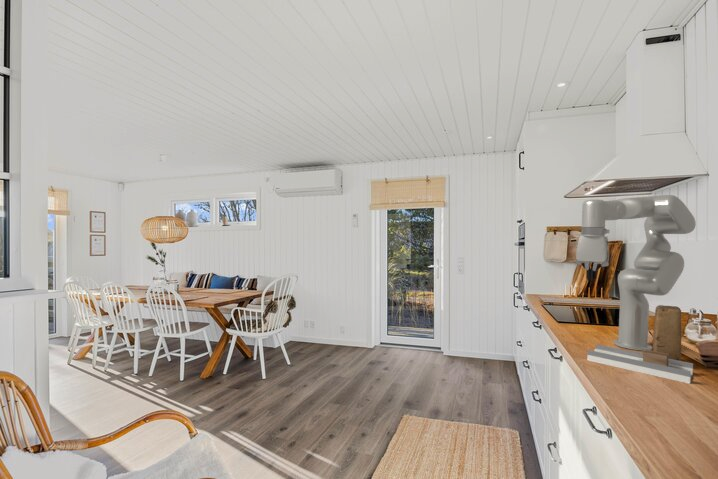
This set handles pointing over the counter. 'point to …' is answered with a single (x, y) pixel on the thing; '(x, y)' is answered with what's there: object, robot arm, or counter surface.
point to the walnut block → (656, 357)
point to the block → (667, 331)
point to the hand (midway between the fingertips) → (591, 280)
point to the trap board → (641, 363)
